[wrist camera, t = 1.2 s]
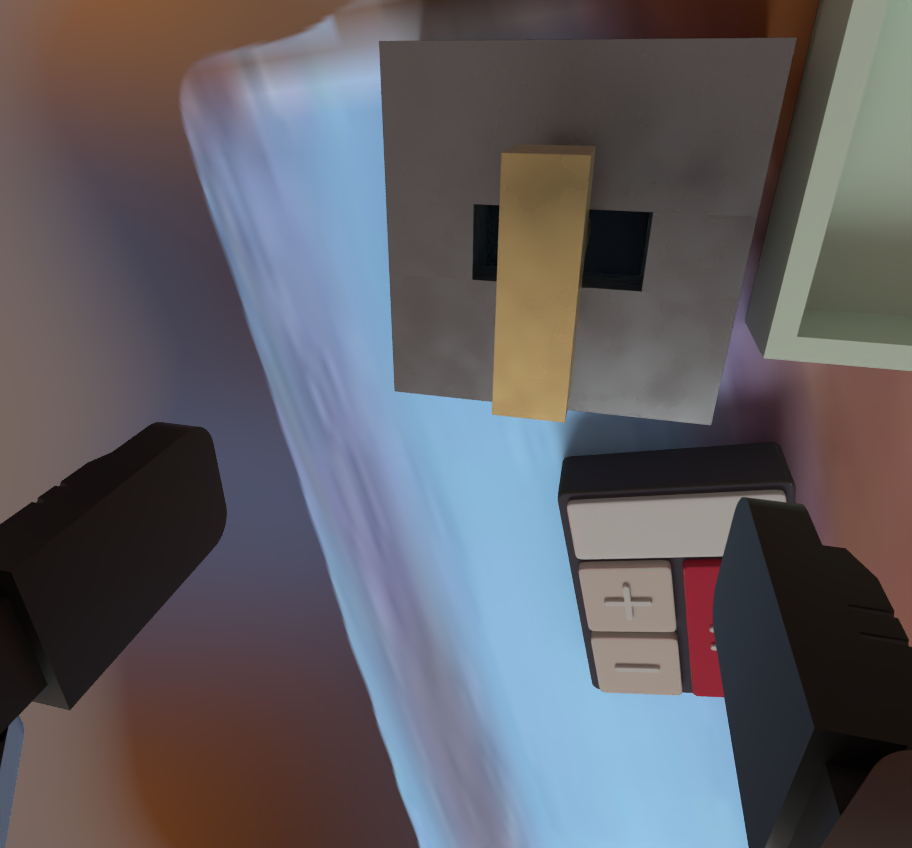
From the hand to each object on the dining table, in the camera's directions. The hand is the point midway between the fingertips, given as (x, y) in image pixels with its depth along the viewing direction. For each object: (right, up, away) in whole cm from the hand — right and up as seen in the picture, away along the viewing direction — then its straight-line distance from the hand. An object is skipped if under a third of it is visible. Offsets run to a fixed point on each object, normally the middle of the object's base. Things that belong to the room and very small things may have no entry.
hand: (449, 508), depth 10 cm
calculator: (+13, -6, +27) cm, 31 cm away
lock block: (+5, +11, +20) cm, 23 cm away
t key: (+5, +11, +20) cm, 23 cm away
